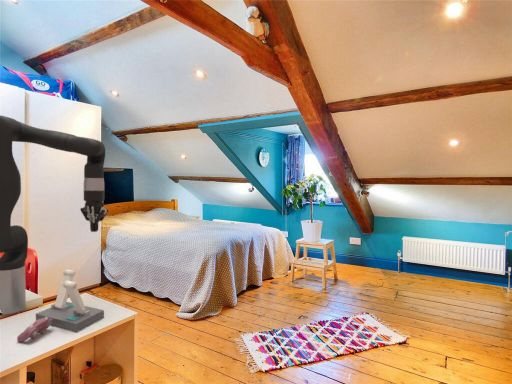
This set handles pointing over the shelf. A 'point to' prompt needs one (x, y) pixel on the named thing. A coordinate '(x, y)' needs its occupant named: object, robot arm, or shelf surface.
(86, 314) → the switch base
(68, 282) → the lever
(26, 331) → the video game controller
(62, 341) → the shelf surface
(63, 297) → the lever
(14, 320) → the shelf surface
